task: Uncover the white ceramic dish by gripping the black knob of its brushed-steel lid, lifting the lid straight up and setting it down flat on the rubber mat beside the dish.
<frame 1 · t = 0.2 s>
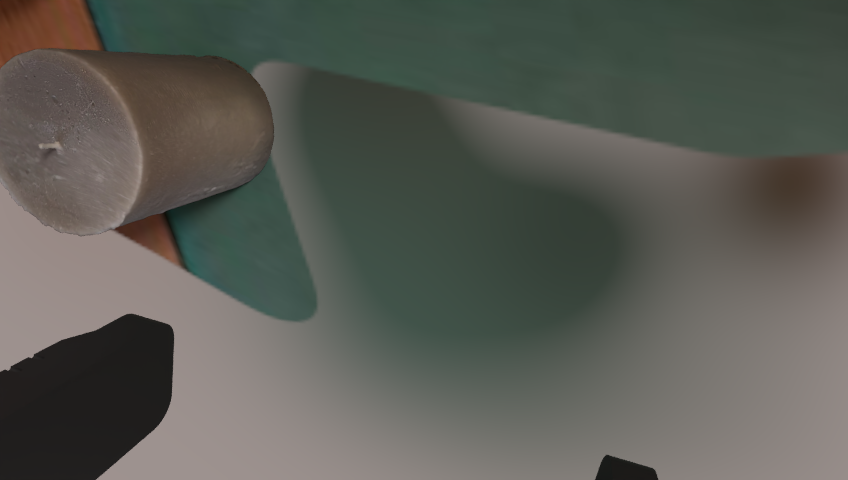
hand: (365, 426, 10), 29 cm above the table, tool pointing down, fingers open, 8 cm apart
pillar candle: (217, 126, 41), on the table
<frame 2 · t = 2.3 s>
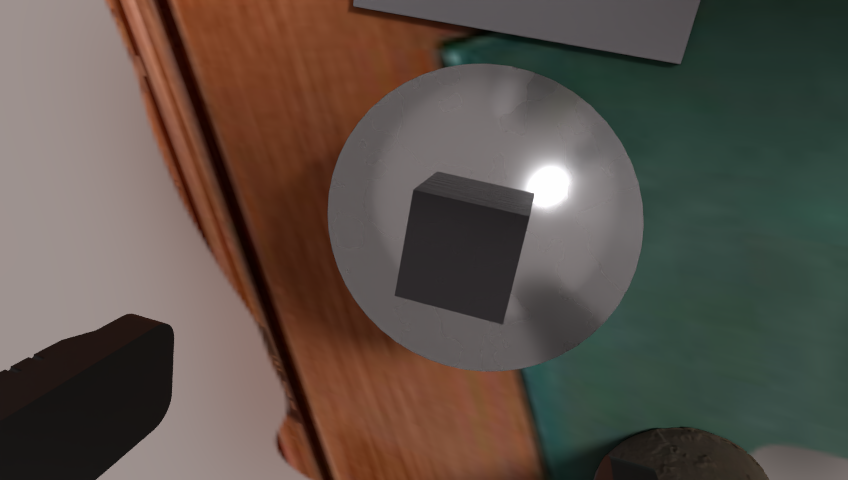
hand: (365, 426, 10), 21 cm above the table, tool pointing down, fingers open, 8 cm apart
lid: (478, 223, 24), point 6 cm above the table, touching dish
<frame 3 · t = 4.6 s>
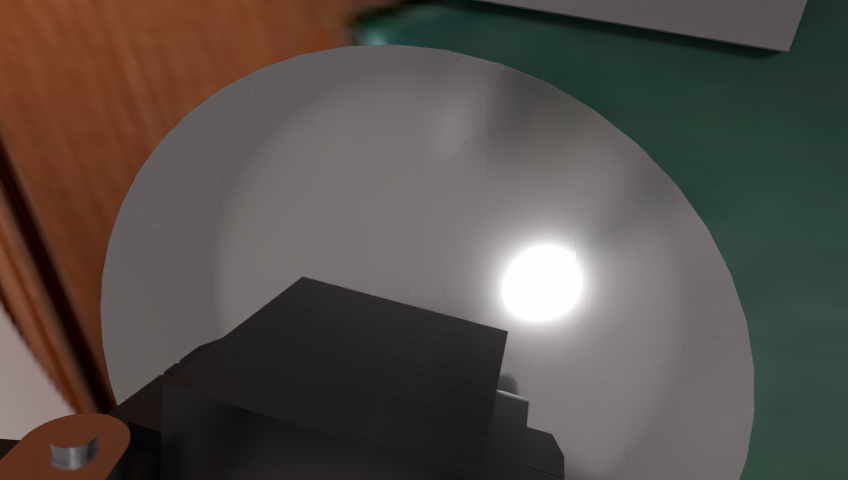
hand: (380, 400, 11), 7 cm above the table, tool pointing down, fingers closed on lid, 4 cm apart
lid: (399, 369, 12), point 6 cm above the table, touching dish, gripper
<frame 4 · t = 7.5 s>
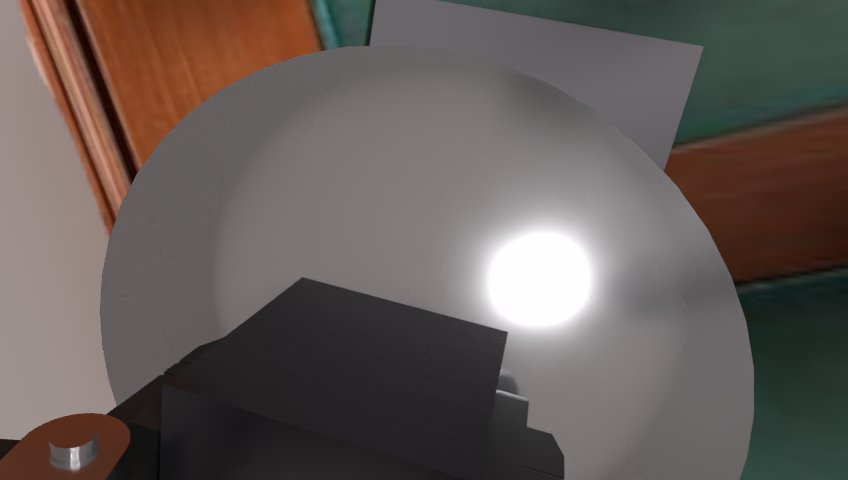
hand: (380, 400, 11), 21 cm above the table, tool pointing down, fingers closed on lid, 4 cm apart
lid: (399, 370, 12), point 20 cm above the table, touching gripper
mat: (493, 193, 30), on the table
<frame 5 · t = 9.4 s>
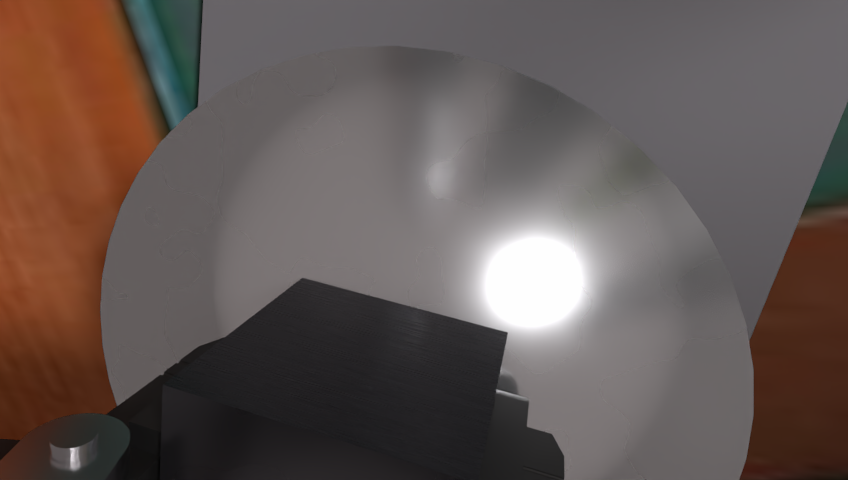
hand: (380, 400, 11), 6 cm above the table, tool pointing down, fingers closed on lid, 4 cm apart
lid: (399, 370, 12), point 5 cm above the table, touching gripper
mat: (444, 287, 16), on the table
when the fingers open (3 cm above the table, at t = 10.7 s): lid drops 2 cm, resting on mat.
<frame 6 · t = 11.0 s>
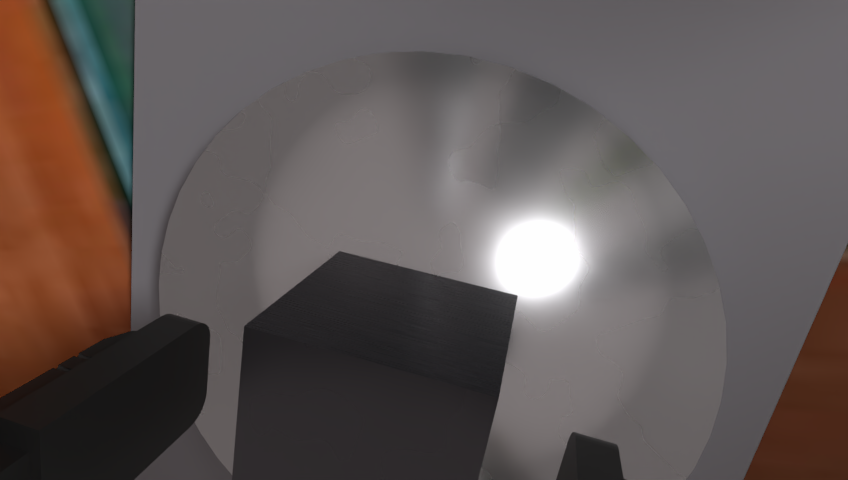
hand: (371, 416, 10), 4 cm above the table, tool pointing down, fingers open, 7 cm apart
lid: (421, 334, 14), resting on mat
mat: (421, 326, 14), on the table
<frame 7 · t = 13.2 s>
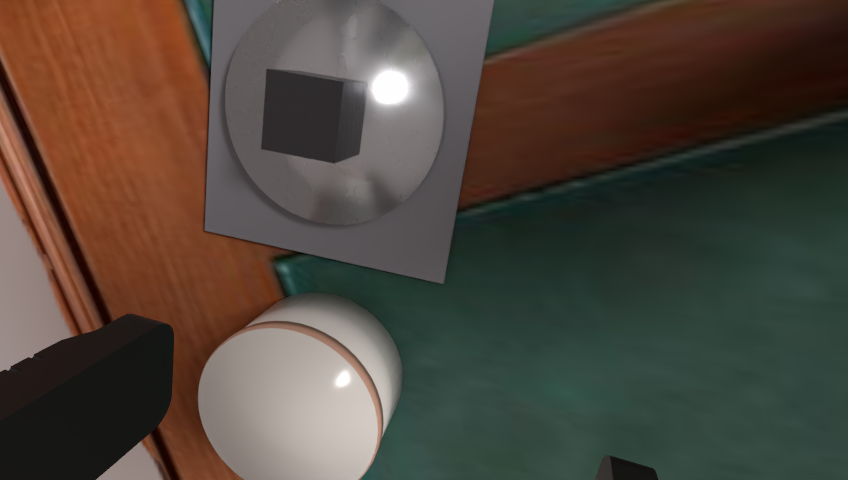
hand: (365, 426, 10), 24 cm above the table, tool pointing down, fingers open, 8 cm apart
dish: (323, 368, 37), on the table
lid: (336, 112, 32), resting on mat
mat: (337, 111, 33), on the table
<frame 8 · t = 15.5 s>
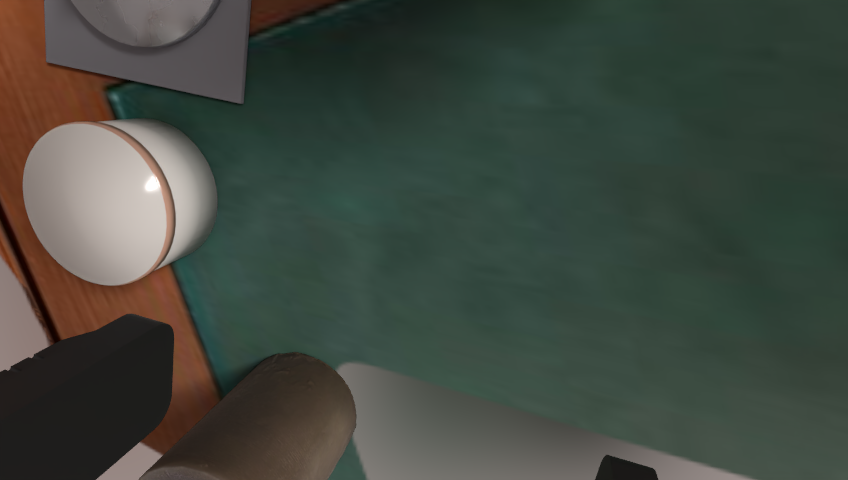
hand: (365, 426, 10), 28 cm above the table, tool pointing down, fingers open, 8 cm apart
dish: (153, 191, 43), on the table
pillar candle: (301, 405, 45), on the table
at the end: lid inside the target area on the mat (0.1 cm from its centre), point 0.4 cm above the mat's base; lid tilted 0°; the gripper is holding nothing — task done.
